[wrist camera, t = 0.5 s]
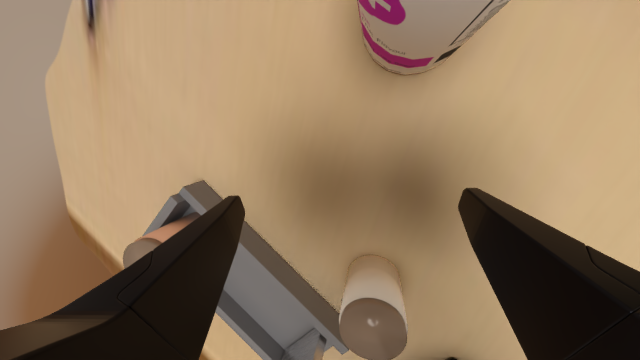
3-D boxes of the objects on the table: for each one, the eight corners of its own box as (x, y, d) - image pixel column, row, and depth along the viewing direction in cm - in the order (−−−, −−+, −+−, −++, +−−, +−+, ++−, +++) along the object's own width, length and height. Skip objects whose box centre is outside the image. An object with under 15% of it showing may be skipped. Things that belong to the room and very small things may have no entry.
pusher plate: (329, 328, 26) (319, 373, 22) (291, 355, 28) (274, 401, 24) (323, 322, 26) (311, 365, 22) (285, 349, 28) (267, 394, 24)
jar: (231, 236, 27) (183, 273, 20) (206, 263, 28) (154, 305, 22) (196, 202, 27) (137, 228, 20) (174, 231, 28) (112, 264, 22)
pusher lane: (351, 326, 27) (347, 359, 23) (299, 362, 30) (288, 396, 26) (203, 180, 27) (175, 189, 23) (165, 230, 30) (135, 245, 26)
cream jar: (411, 282, 24) (425, 342, 18) (372, 309, 26) (371, 372, 19) (373, 245, 24) (372, 290, 18) (336, 274, 26) (323, 325, 19)
